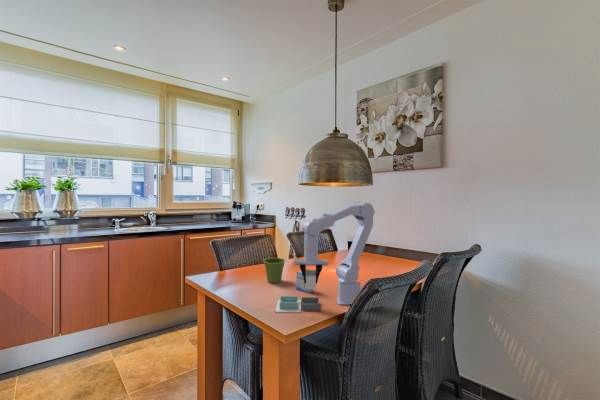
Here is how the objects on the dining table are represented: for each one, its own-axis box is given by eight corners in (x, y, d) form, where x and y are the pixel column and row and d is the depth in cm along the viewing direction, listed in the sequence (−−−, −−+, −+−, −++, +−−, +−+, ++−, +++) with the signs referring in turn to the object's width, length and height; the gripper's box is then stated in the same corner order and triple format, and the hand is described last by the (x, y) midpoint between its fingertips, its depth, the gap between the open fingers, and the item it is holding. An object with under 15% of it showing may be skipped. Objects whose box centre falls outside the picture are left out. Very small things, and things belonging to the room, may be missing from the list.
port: (300, 300, 132) (300, 294, 132) (300, 312, 119) (300, 305, 119) (277, 300, 132) (277, 293, 132) (275, 312, 119) (275, 305, 119)
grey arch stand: (318, 303, 130) (318, 297, 130) (319, 310, 121) (319, 304, 121) (301, 302, 130) (301, 297, 130) (301, 310, 121) (301, 304, 121)
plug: (315, 286, 127) (315, 269, 127) (315, 289, 123) (315, 272, 123) (305, 286, 127) (305, 269, 127) (305, 289, 123) (306, 272, 123)
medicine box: (295, 289, 148) (295, 271, 148) (302, 287, 151) (302, 270, 151) (307, 293, 142) (307, 275, 142) (313, 291, 145) (314, 273, 145)
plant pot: (258, 282, 158) (258, 261, 158) (271, 277, 168) (271, 257, 168) (277, 286, 152) (278, 263, 152) (289, 280, 163) (289, 259, 163)
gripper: (293, 251, 121) (293, 285, 121) (329, 252, 121) (329, 285, 121) (293, 248, 128) (293, 280, 128) (327, 249, 128) (327, 280, 128)
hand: (310, 282), depth 125 cm, fingers closed on plug, 4 cm apart
